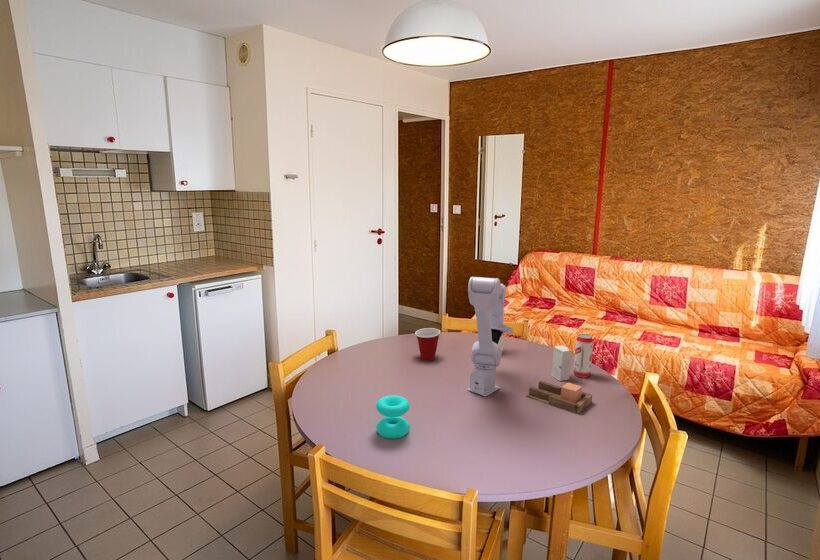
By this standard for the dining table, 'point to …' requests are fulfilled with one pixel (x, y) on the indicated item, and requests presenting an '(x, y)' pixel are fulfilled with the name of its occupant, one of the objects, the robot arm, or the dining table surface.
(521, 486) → the dining table surface
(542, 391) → the chute
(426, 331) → the plastic cup
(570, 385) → the block
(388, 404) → the donuts
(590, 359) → the beer can
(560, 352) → the skincare box
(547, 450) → the dining table surface
